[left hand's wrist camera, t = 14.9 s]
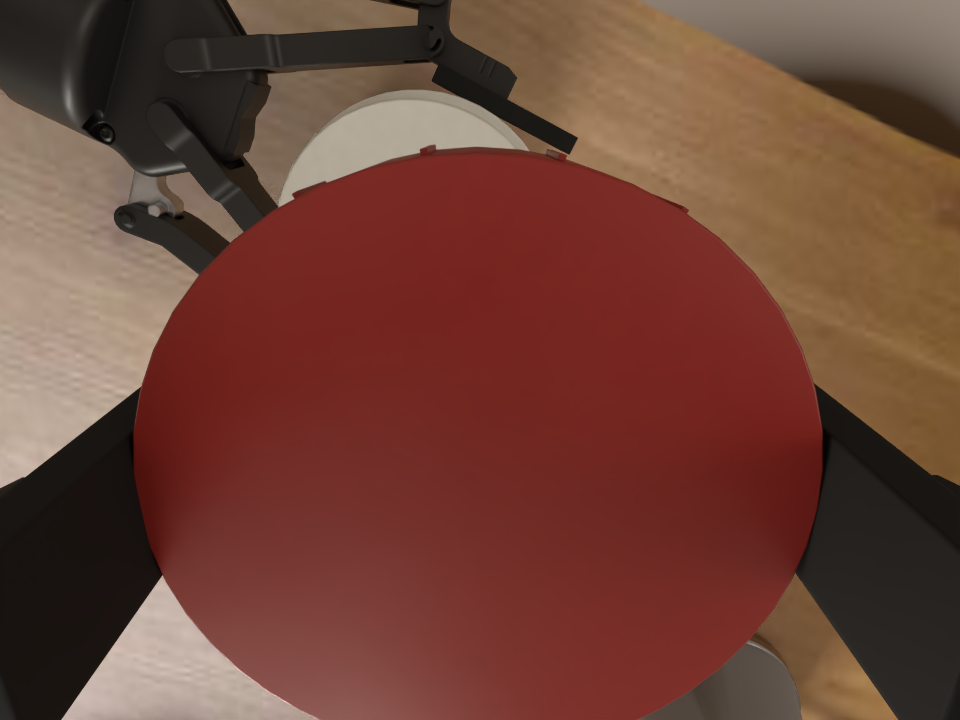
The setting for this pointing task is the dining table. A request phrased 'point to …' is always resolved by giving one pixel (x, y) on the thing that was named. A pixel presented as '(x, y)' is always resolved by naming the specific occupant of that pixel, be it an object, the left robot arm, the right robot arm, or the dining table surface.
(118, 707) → the dining table surface
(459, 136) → the jar
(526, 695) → the lid
